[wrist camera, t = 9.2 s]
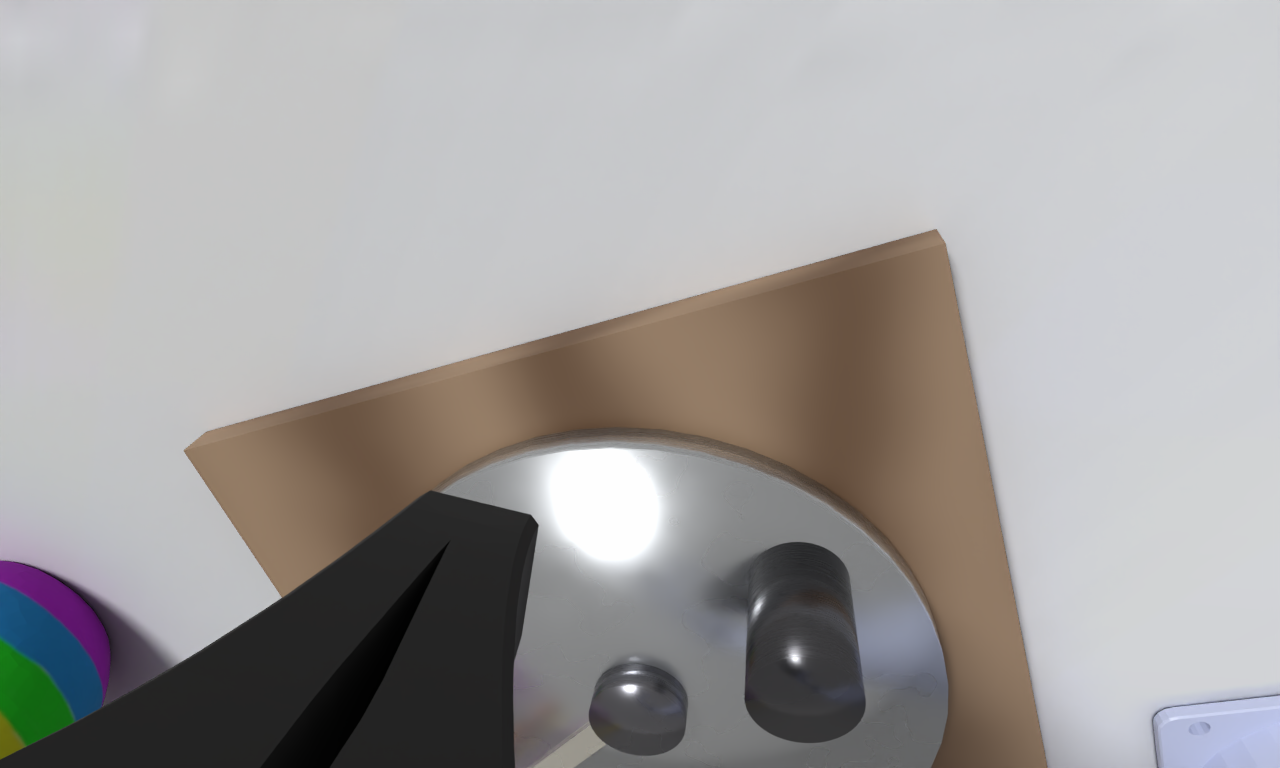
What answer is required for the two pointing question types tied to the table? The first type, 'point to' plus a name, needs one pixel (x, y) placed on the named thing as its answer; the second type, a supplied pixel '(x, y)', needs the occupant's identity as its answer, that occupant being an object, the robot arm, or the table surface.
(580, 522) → the dial
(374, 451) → the dial plate
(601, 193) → the table surface
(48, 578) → the decorative egg
